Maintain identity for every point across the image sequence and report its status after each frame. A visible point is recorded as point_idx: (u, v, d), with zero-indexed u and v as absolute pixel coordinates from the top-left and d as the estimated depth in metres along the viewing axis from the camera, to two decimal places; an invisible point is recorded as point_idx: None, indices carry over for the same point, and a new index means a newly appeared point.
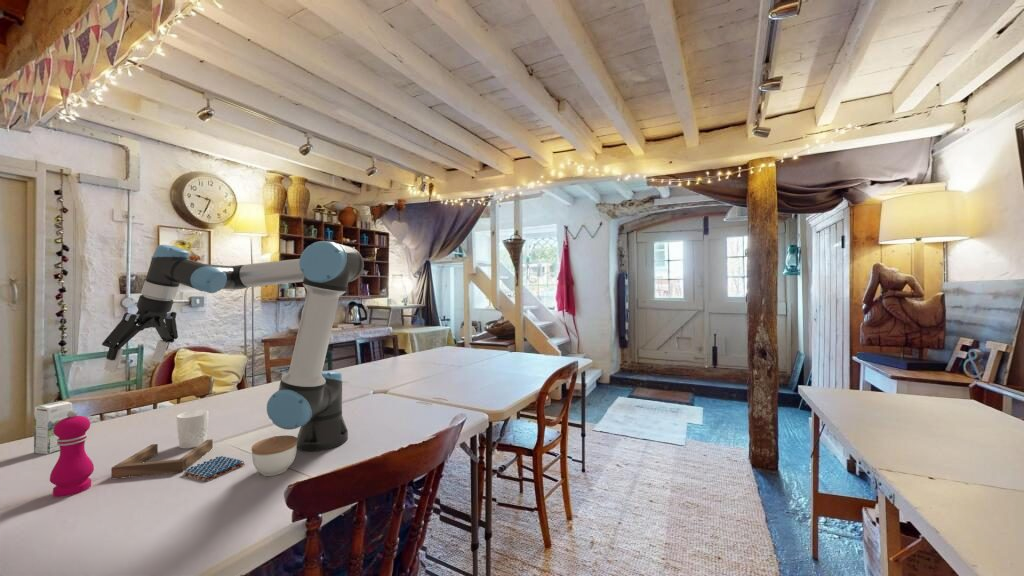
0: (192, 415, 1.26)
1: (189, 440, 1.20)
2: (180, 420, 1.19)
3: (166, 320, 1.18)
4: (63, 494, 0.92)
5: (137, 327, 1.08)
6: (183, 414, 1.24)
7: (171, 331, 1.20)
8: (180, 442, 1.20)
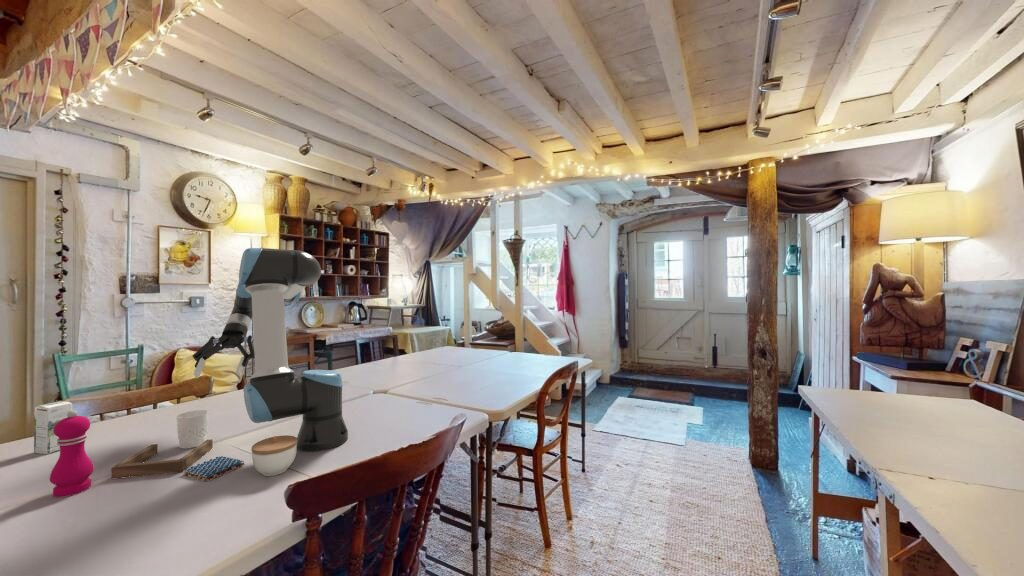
0: (192, 415, 1.26)
1: (189, 440, 1.20)
2: (180, 420, 1.19)
3: None
4: (63, 494, 0.92)
5: None
6: (183, 414, 1.23)
7: None
8: (180, 442, 1.20)
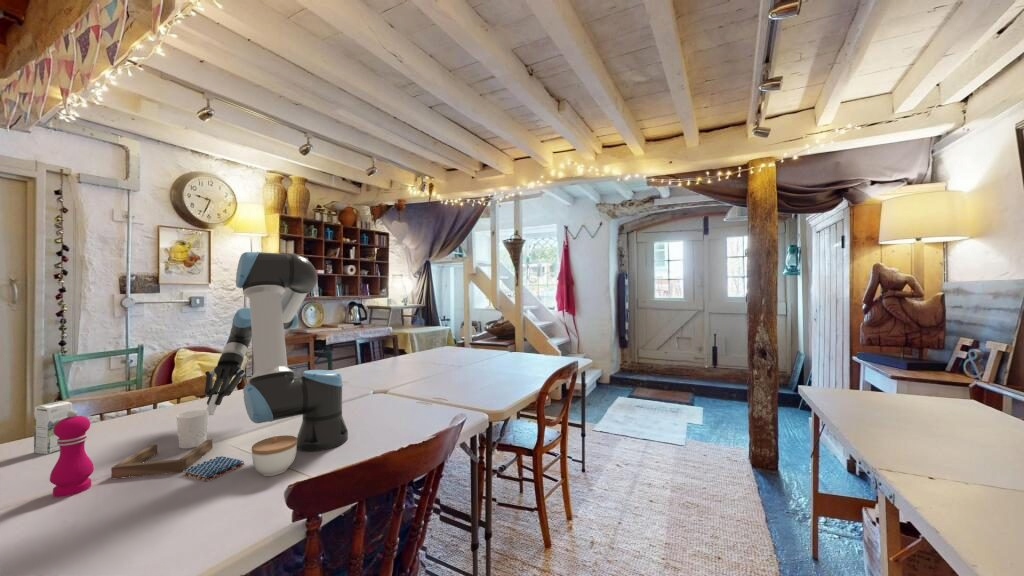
0: (192, 415, 1.26)
1: (189, 440, 1.20)
2: (180, 420, 1.19)
3: None
4: (63, 494, 0.92)
5: None
6: (183, 414, 1.24)
7: None
8: (180, 442, 1.20)
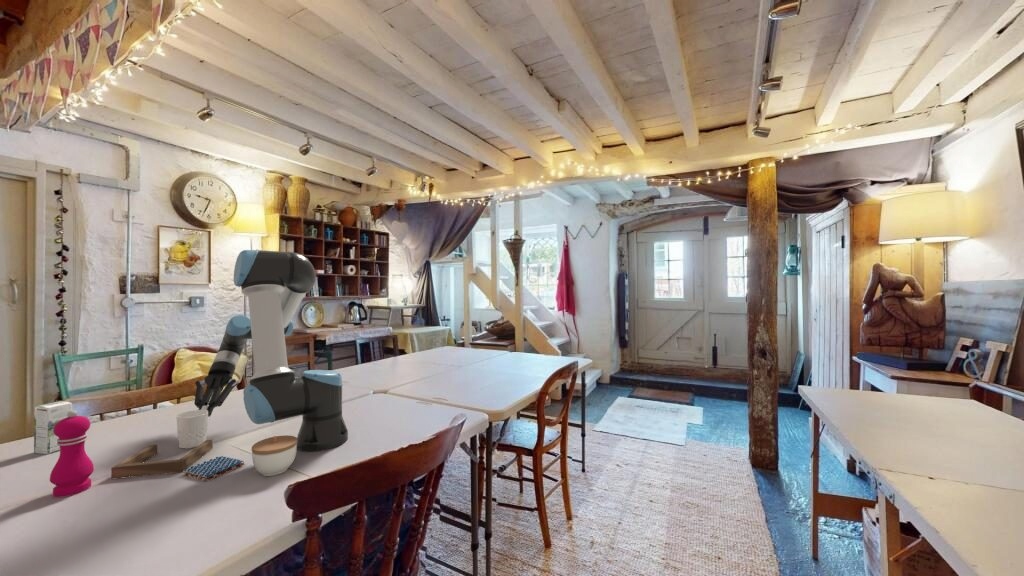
0: (192, 415, 1.25)
1: (189, 440, 1.20)
2: (179, 421, 1.19)
3: None
4: (63, 494, 0.92)
5: None
6: (183, 414, 1.23)
7: None
8: (180, 442, 1.20)
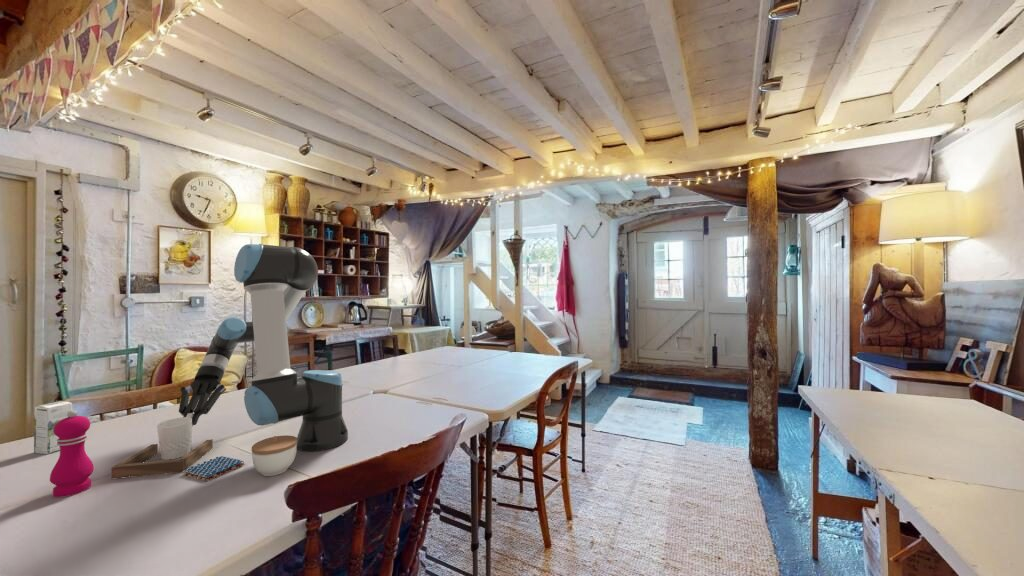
0: (176, 423, 1.17)
1: (170, 451, 1.12)
2: (159, 430, 1.11)
3: None
4: (63, 494, 0.92)
5: None
6: (166, 422, 1.15)
7: None
8: (161, 453, 1.12)
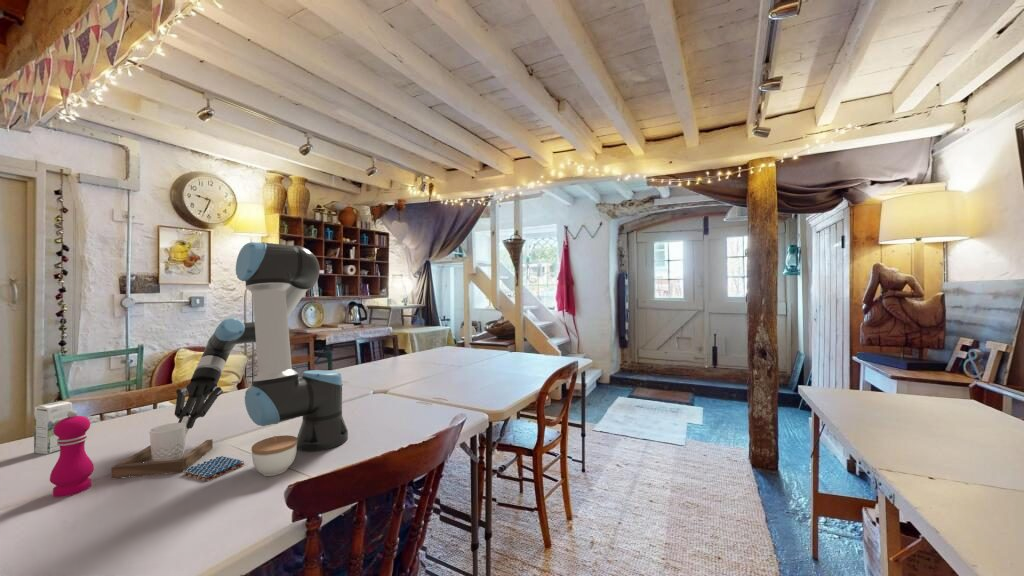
0: (170, 428, 1.14)
1: (162, 457, 1.07)
2: (152, 435, 1.07)
3: None
4: (63, 494, 0.92)
5: None
6: (159, 427, 1.12)
7: None
8: (153, 459, 1.08)
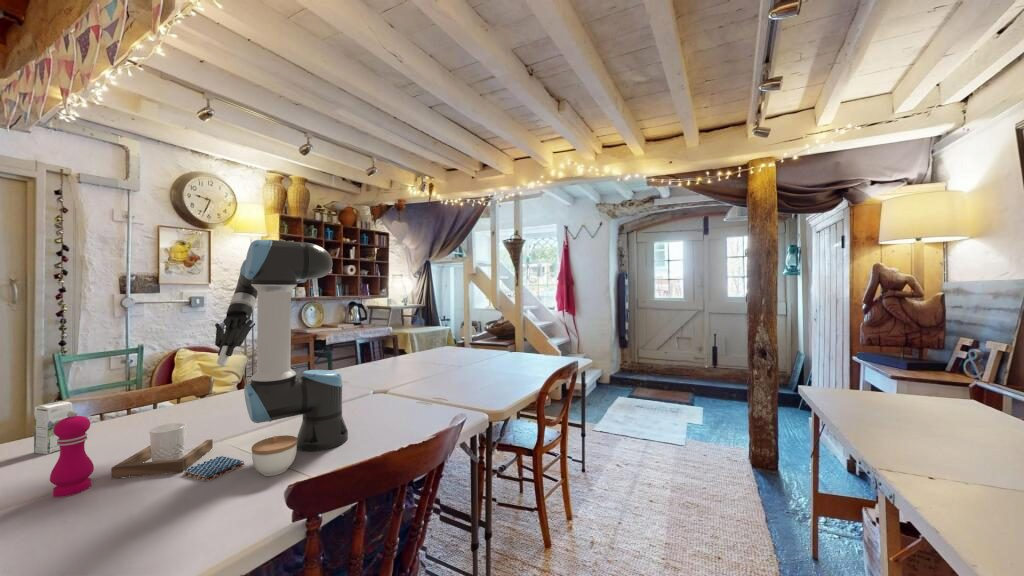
0: (170, 428, 1.14)
1: (162, 457, 1.07)
2: (152, 435, 1.07)
3: None
4: (63, 494, 0.92)
5: None
6: (159, 427, 1.12)
7: None
8: (153, 459, 1.08)
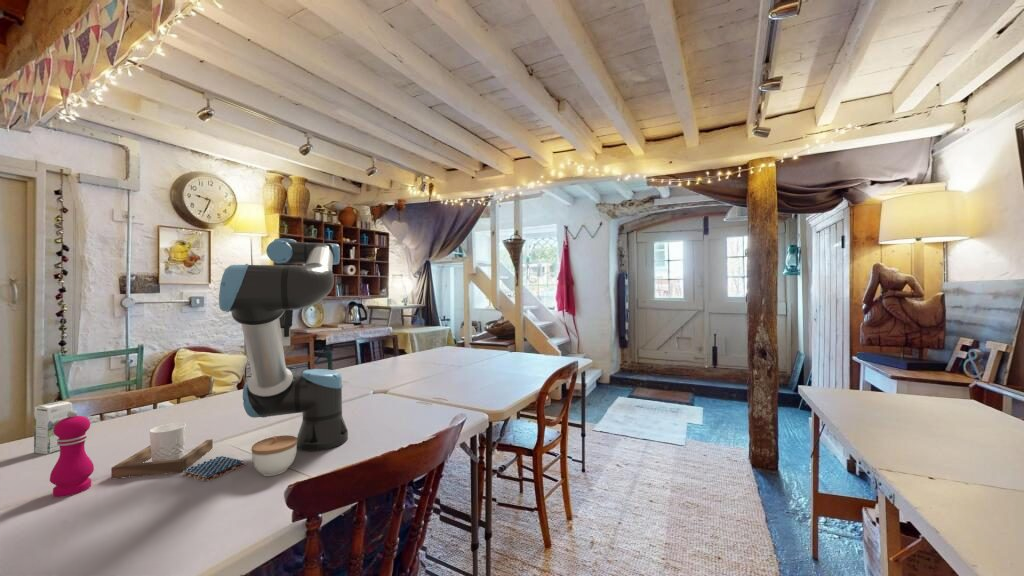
0: (170, 428, 1.14)
1: (161, 457, 1.07)
2: (151, 435, 1.07)
3: None
4: (63, 494, 0.92)
5: None
6: (159, 427, 1.12)
7: None
8: (153, 459, 1.08)
